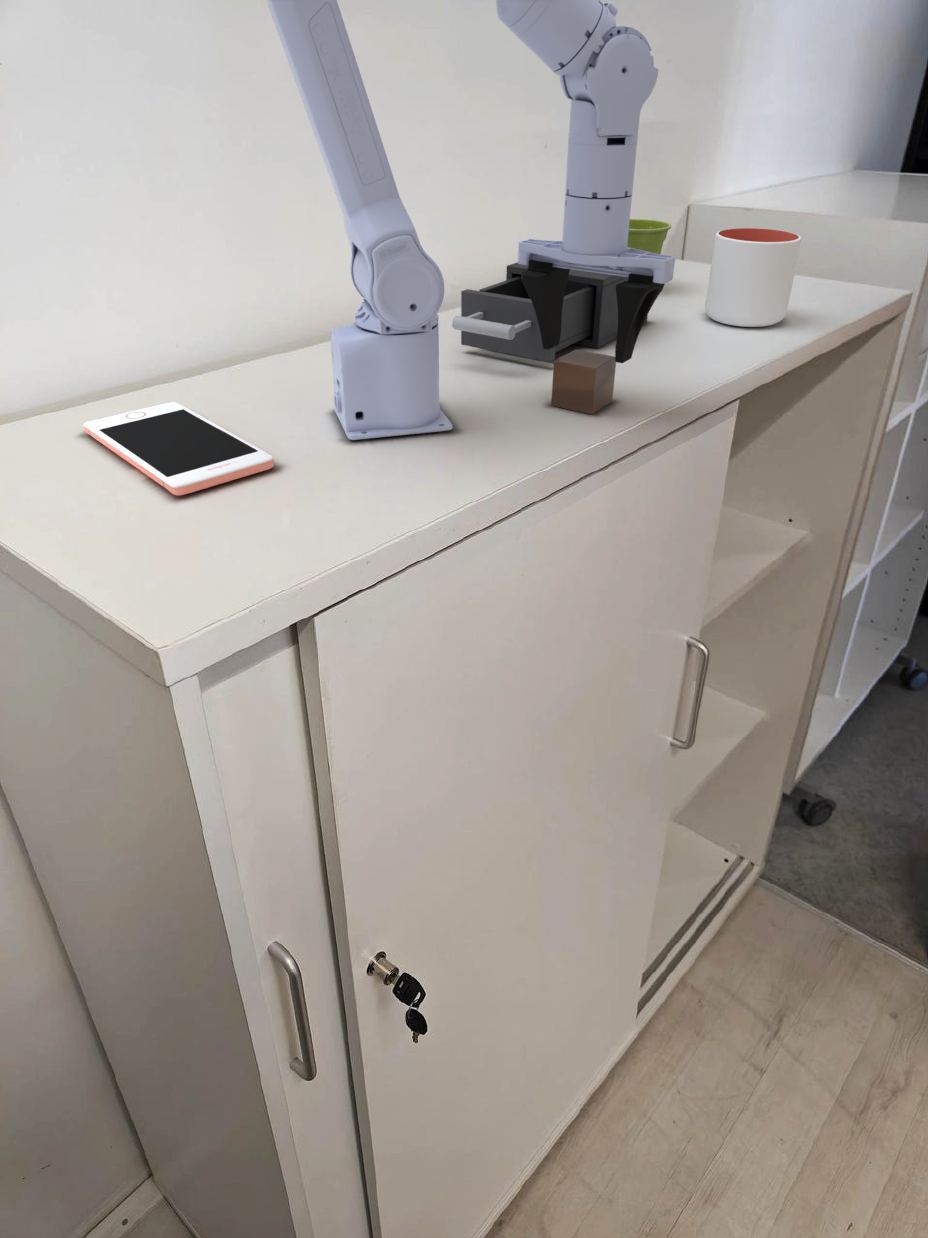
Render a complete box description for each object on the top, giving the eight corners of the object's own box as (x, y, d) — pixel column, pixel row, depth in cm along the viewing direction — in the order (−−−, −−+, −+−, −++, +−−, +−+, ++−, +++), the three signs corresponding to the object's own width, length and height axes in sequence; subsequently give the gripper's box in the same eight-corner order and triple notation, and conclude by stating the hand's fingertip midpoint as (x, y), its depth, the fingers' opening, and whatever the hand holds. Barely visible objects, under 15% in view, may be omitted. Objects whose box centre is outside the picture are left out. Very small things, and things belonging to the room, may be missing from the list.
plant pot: (586, 284, 129) (591, 219, 124) (644, 280, 131) (651, 216, 127) (614, 298, 121) (620, 230, 117) (675, 294, 124) (684, 227, 119)
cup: (788, 331, 108) (806, 244, 102) (704, 327, 109) (717, 240, 104) (780, 311, 116) (796, 229, 111) (702, 307, 118) (714, 226, 112)
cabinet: (597, 348, 102) (603, 279, 97) (504, 331, 107) (506, 265, 103) (647, 323, 111) (654, 258, 107) (558, 308, 117) (562, 247, 113)
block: (591, 414, 83) (595, 368, 81) (550, 405, 85) (553, 360, 83) (612, 401, 86) (616, 356, 84) (572, 393, 88) (575, 348, 86)
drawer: (525, 373, 91) (528, 315, 88) (435, 355, 96) (434, 299, 93) (602, 335, 103) (607, 283, 100) (518, 320, 108) (520, 270, 105)
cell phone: (176, 410, 84) (174, 400, 83) (277, 467, 72) (275, 457, 72) (83, 432, 79) (81, 422, 78) (176, 498, 67) (174, 486, 67)
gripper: (696, 195, 75) (675, 355, 83) (547, 182, 82) (540, 331, 89) (663, 205, 70) (643, 374, 78) (507, 191, 77) (503, 348, 85)
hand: (586, 353), depth 83 cm, fingers open, 7 cm apart
